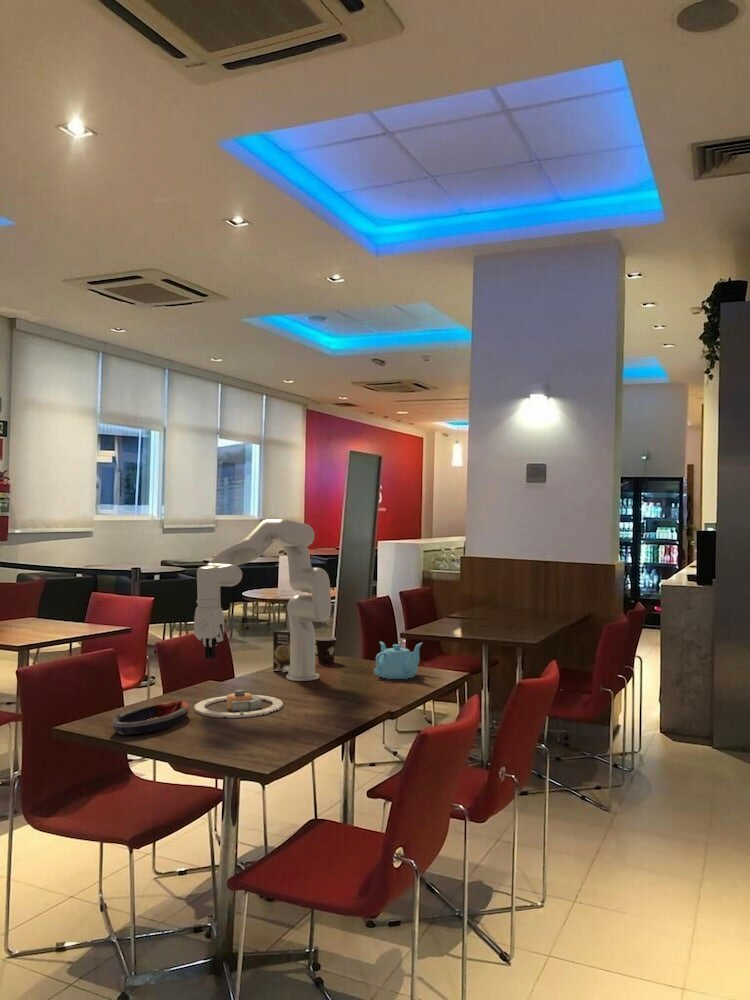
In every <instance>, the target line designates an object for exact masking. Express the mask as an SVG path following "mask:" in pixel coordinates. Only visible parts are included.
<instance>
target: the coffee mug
mask: <svg viewBox="0 0 750 1000" xmlns="http://www.w3.org/2000/svg"><path fill="white" fill-rule="evenodd" d="M336 644H337V638H336V637H331V636H329V637H327V636H326V637H315V646H316V652H317V653H316V652H315V657H316V656H317V661H318V664H320V663H322V664H321V665H330V664H329V663H332V664H334V661H335V654H336Z"/></svg>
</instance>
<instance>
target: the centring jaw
mask: <svg viewBox="0 0 750 1000" xmlns="http://www.w3.org/2000/svg"><path fill="white" fill-rule="evenodd" d="M257 695H258V694H252V700H251V701H248V700H246V701H232V710H231V712H232V711H233V712H232V713H235V712H234V711H239V712H241V711H243V712H251V711H253V710H254V711H257V710H256V709H258V710H260V709H259V708H261V709H262V700H261V699H258V698H257Z"/></svg>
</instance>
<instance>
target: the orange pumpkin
mask: <svg viewBox="0 0 750 1000" xmlns="http://www.w3.org/2000/svg"><path fill="white" fill-rule="evenodd" d="M252 695H253V694H252V693H249V692H245V690H244V689H236V690H234V693H230V694H227V695H226V696H227V700H226V706H227V707H226V709H227V708H228V709H227V710H229V709H231V710H230V711H232V701H246V700H248V701H251V700H252Z"/></svg>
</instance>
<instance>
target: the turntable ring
mask: <svg viewBox="0 0 750 1000" xmlns="http://www.w3.org/2000/svg"><path fill="white" fill-rule="evenodd" d="M256 695H257V698H258V699H261V701H263V700H265V701H264V702H267V701H268V703H270V702H271V703H270V704H272V705H270V706H269V707H265V708H263V709H262V708H261V709H258V710H254V711H239V712H224V711H223V712H221V711H215V710H209V709H207V708H206V707H207V706H208V705H212V704H214V703H217V702H223V701H224V700H225V701H227V695H223V696H217V697H215V696H214V697H211V698H207V699H203V700H201V701H199V702H198V703H196V704H194V712H195V713H197V714H200V715H201V716H206V717H212V718H223V717H227V719H235V718H236V719H237V718H252V717H257V715H258V716H263V714H264V715H269V714H271V713H270V712H272V713H273V711H275V712H277V711H276V710H278V711H279V710H280V709H281V708H283V707H284V703H283V701H282V699H279V698H277V697H273V696H270V695H269V696H268V695H262V694H256ZM225 701H224V702H225ZM282 706H283V707H282ZM268 713H269V714H268ZM251 716H252V717H251Z"/></svg>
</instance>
